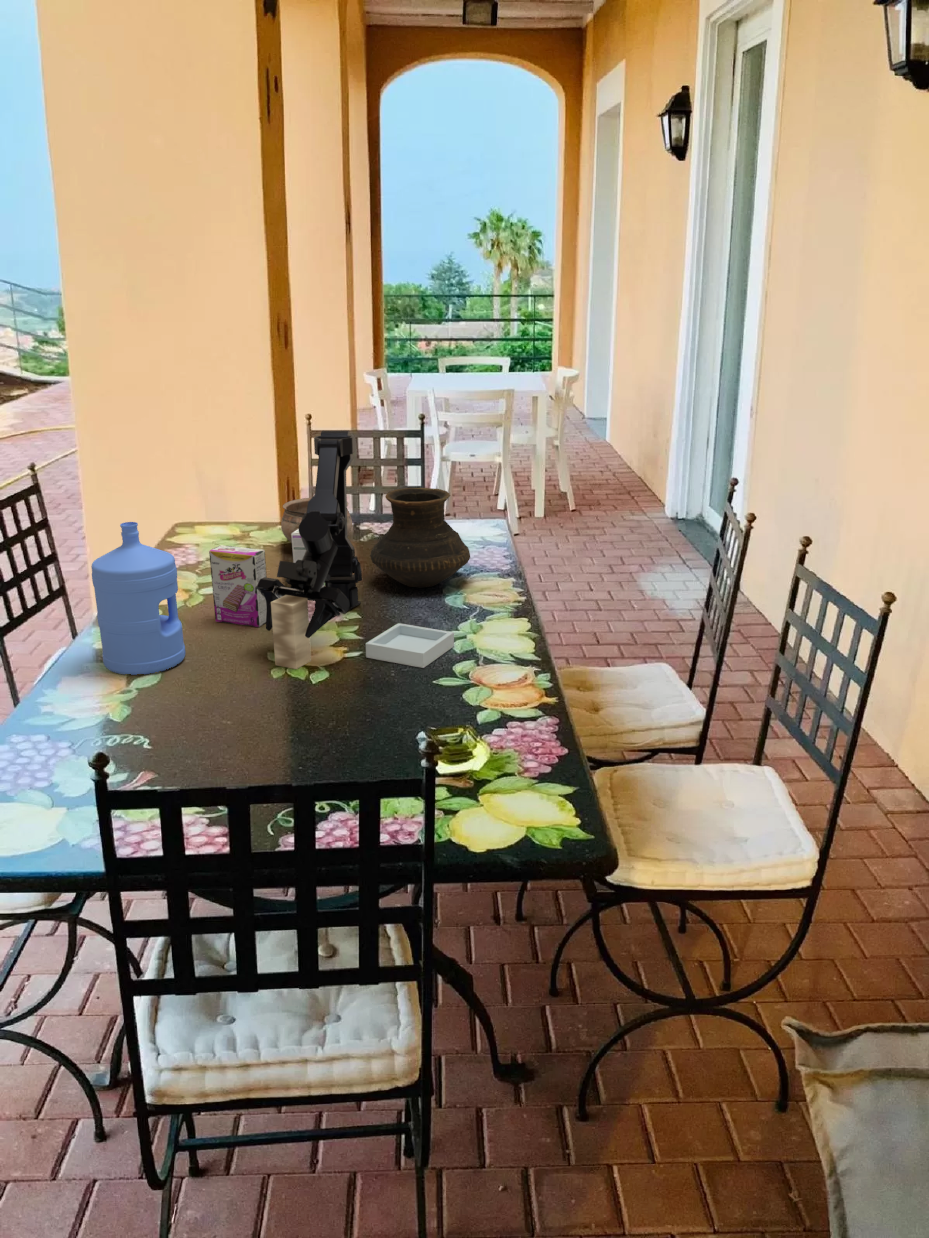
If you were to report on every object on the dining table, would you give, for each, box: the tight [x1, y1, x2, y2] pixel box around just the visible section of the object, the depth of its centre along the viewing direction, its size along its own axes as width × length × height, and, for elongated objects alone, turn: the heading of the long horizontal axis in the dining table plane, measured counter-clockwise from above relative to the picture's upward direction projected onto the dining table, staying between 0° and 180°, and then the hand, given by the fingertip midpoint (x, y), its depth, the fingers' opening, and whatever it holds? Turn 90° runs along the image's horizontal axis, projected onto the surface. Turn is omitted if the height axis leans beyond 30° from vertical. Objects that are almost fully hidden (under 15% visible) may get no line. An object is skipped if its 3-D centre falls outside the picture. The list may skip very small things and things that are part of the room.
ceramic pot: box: [370, 487, 471, 588], centre depth 250 cm, size 24×24×22 cm
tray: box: [365, 622, 455, 669], centre depth 210 cm, size 13×13×3 cm
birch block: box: [271, 595, 312, 670], centre depth 203 cm, size 5×5×13 cm
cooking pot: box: [280, 497, 353, 544], centre depth 281 cm, size 25×19×12 cm
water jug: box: [91, 521, 186, 676], centre depth 202 cm, size 16×16×28 cm
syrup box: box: [291, 529, 325, 587], centre depth 248 cm, size 6×6×14 cm
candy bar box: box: [208, 544, 268, 628], centre depth 226 cm, size 11×5×16 cm, turn 71°
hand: (287, 633), depth 202 cm, fingers open, 9 cm apart
